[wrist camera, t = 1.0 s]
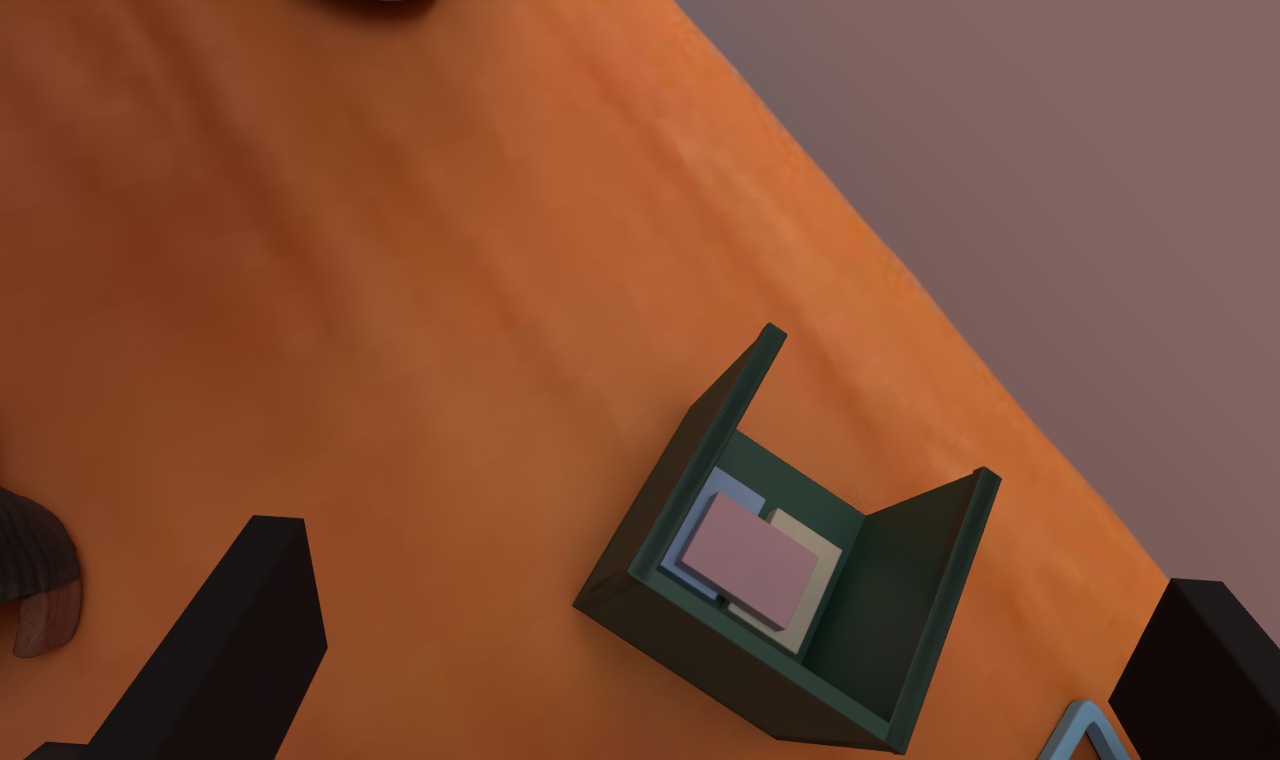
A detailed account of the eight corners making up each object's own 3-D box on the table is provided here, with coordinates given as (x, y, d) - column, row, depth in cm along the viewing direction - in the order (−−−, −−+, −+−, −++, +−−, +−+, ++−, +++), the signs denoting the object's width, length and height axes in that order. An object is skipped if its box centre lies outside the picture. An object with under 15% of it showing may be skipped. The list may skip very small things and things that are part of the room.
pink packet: (808, 560, 34) (819, 557, 33) (775, 632, 32) (786, 630, 31) (710, 495, 34) (719, 490, 33) (673, 564, 32) (680, 560, 31)
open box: (780, 742, 32) (905, 756, 24) (568, 603, 32) (625, 571, 24) (872, 526, 37) (1002, 478, 29) (688, 404, 37) (769, 321, 29)
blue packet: (706, 603, 33) (715, 600, 32) (638, 558, 33) (644, 554, 32) (757, 504, 35) (766, 499, 34) (693, 461, 35) (701, 455, 34)
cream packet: (786, 656, 33) (797, 655, 32) (718, 611, 33) (727, 609, 32) (832, 553, 35) (843, 550, 34) (768, 511, 35) (778, 506, 34)
